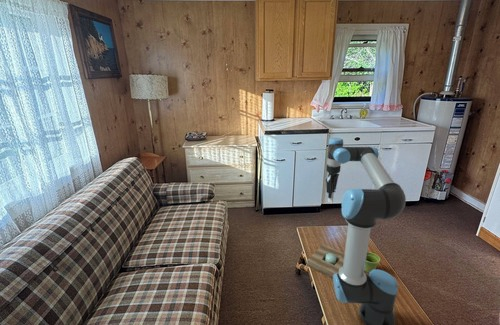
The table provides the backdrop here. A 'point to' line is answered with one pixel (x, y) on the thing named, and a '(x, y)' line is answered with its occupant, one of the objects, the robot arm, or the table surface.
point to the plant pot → (371, 262)
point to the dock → (321, 265)
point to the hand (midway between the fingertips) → (330, 202)
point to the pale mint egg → (331, 258)
